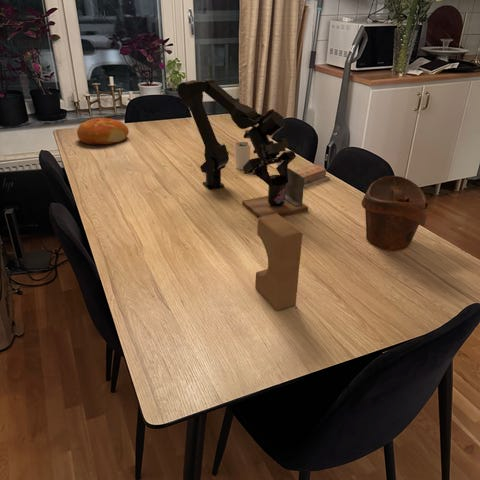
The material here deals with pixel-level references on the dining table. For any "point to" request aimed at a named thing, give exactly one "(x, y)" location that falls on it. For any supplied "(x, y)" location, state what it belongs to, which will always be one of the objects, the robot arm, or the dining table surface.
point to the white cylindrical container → (242, 154)
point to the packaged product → (313, 175)
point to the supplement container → (277, 190)
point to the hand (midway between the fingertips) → (279, 184)
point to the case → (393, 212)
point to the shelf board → (290, 205)
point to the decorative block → (279, 261)
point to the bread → (102, 131)
